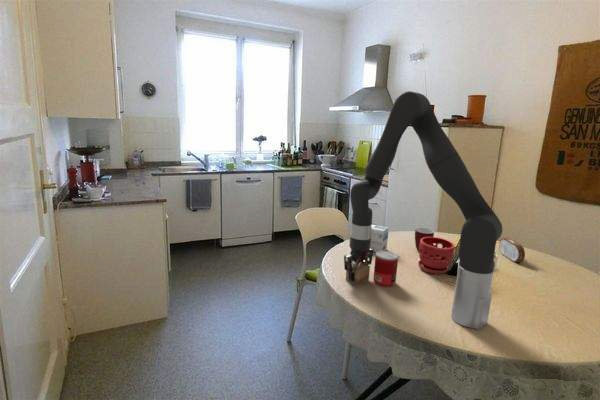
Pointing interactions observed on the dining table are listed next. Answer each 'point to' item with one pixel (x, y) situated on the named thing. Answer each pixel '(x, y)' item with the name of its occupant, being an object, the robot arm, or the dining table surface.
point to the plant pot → (435, 254)
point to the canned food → (385, 268)
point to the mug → (422, 235)
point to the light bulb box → (379, 238)
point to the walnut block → (360, 274)
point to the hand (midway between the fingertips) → (357, 278)
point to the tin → (512, 249)
